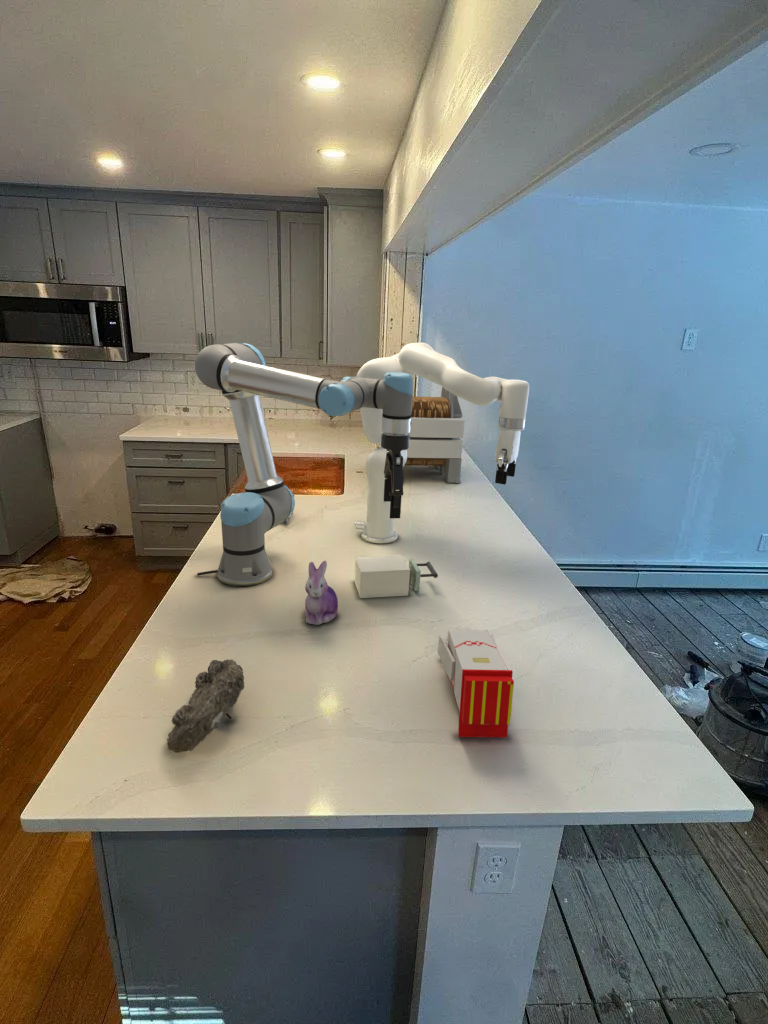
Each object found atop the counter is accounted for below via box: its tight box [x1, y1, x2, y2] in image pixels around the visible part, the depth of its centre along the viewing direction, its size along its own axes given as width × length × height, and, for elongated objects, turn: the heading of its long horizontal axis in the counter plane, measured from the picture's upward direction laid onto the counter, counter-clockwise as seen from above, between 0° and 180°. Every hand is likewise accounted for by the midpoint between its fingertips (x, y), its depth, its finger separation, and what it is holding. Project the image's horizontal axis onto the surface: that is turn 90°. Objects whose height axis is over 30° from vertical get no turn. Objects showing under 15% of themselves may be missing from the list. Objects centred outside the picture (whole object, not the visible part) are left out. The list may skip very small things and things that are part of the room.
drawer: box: [408, 558, 439, 592], centre depth 160 cm, size 18×8×6 cm, turn 101°
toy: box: [437, 628, 515, 738], centre depth 117 cm, size 12×13×30 cm
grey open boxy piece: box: [403, 386, 465, 484], centre depth 268 cm, size 34×33×41 cm
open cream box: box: [354, 554, 410, 599], centre depth 159 cm, size 14×10×8 cm
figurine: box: [304, 560, 339, 626], centre depth 142 cm, size 9×10×15 cm
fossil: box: [166, 658, 245, 754], centre depth 106 cm, size 22×10×15 cm
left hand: (391, 509), depth 156 cm, fingers open, 13 cm apart
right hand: (504, 479), depth 171 cm, fingers open, 9 cm apart
